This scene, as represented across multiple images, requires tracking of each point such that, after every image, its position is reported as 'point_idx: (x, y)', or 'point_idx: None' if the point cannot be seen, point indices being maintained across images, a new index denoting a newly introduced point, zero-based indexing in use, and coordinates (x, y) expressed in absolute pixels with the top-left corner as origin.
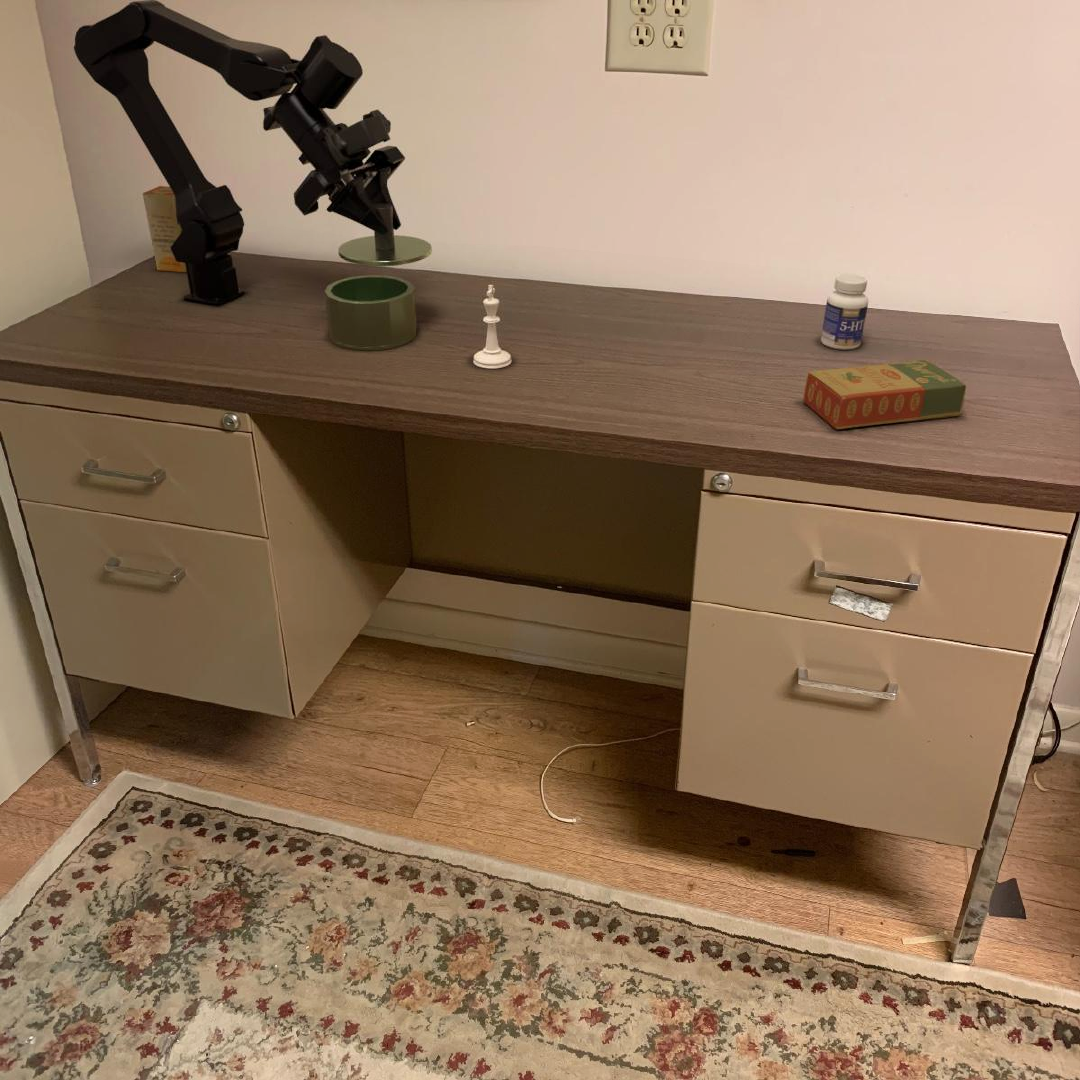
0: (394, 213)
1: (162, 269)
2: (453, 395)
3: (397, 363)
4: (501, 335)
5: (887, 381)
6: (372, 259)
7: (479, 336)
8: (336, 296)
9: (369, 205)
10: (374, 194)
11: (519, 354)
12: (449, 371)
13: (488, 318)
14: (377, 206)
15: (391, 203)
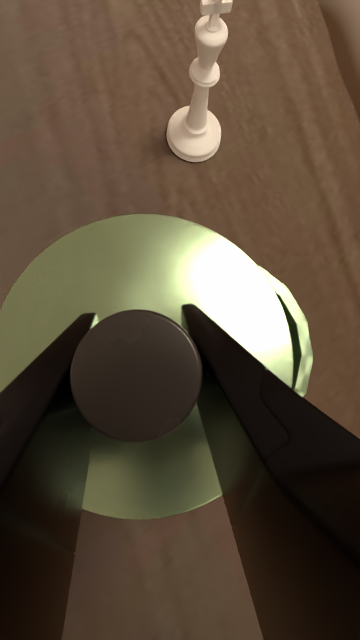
0: (73, 341)
1: None
2: (311, 126)
3: (269, 247)
4: (94, 176)
5: None
6: (267, 312)
7: (116, 203)
8: (297, 377)
9: (267, 384)
10: (25, 551)
11: (148, 118)
12: (253, 170)
13: (213, 69)
14: (169, 389)
15: (24, 385)
